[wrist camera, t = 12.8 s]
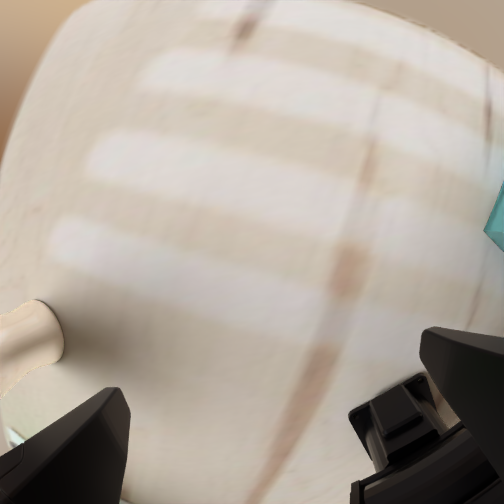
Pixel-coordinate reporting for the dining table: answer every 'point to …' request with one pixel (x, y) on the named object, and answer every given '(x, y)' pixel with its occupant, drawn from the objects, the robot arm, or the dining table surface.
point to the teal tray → (497, 221)
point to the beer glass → (27, 342)
